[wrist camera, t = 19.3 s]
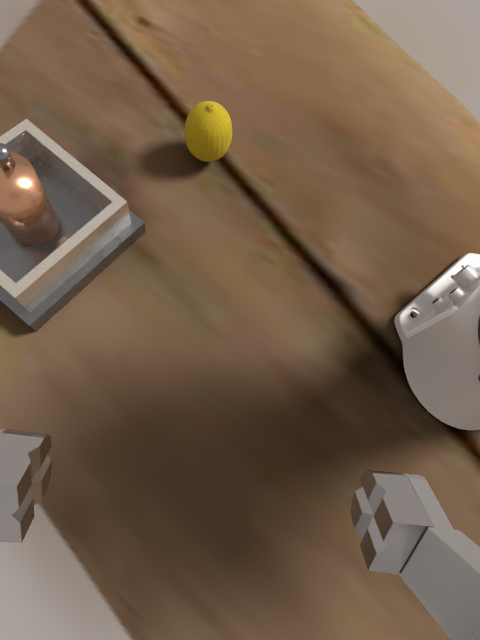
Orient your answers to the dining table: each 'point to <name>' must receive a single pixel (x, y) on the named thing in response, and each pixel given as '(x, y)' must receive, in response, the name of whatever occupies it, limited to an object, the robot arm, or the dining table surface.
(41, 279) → the open square box
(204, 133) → the lemon
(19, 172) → the copper upright cylinder
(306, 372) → the dining table surface
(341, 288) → the dining table surface
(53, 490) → the dining table surface
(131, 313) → the dining table surface
